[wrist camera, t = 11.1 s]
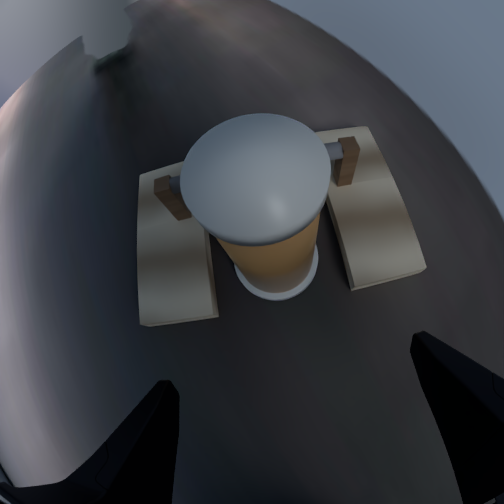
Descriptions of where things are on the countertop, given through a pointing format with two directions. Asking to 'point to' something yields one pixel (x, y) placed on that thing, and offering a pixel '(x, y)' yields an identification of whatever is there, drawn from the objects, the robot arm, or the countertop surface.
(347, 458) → the countertop surface
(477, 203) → the countertop surface
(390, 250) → the grey piece
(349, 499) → the countertop surface
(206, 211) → the lidded paper cup
